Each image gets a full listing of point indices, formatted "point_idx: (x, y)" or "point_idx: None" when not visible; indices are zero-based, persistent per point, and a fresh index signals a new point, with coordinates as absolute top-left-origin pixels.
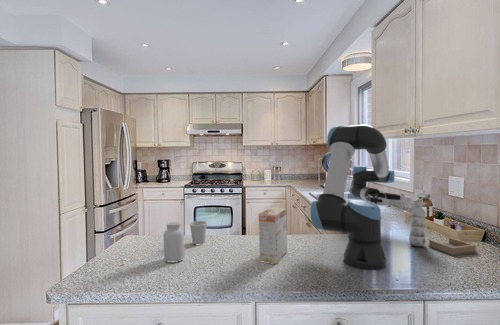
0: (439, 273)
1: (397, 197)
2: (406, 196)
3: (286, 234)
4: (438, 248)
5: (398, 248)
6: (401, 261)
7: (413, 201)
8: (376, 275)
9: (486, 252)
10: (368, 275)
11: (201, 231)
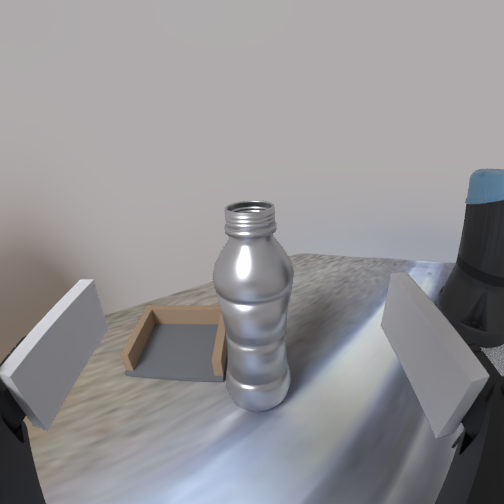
0: (347, 279)
1: (12, 442)
2: (49, 315)
3: None
4: (226, 348)
5: (353, 386)
6: None
7: (257, 213)
8: None
9: (130, 316)
10: None
11: None
